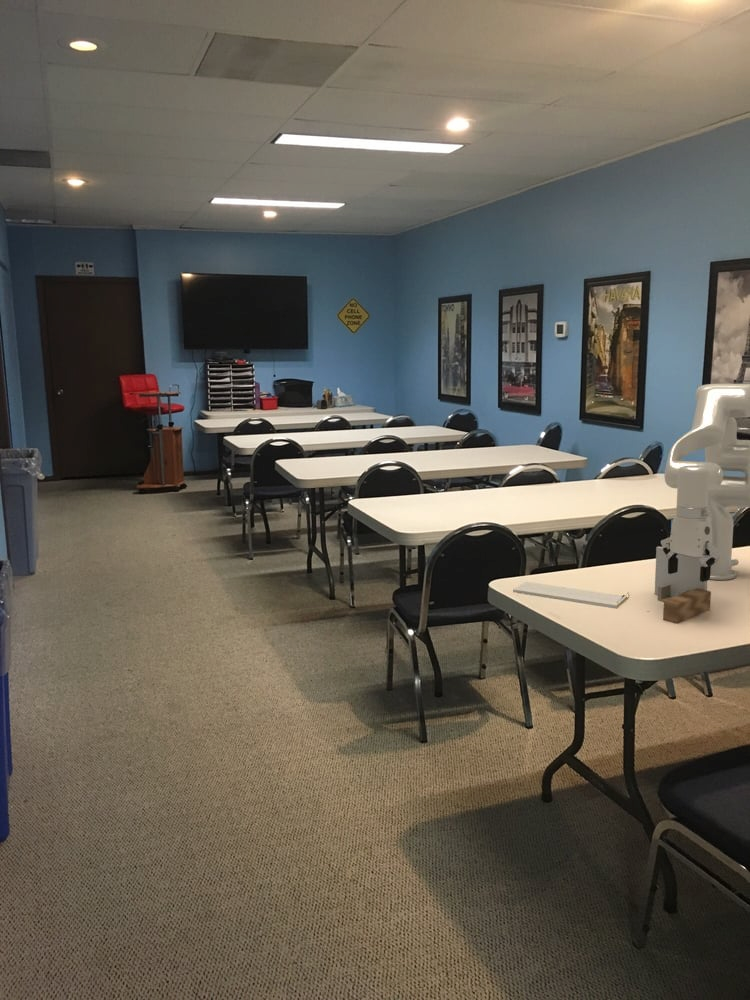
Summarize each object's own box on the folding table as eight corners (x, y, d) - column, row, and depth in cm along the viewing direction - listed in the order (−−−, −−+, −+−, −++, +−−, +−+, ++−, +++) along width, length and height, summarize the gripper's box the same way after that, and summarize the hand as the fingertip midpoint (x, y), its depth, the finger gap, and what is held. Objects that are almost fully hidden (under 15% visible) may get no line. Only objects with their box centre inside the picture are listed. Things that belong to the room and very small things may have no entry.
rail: (696, 607, 213) (697, 588, 212) (710, 611, 210) (711, 591, 209) (663, 620, 203) (663, 600, 202) (677, 624, 200) (677, 604, 199)
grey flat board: (529, 584, 241) (513, 594, 231) (529, 575, 240) (513, 584, 230) (629, 598, 223) (616, 610, 214) (630, 589, 223) (617, 600, 213)
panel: (657, 593, 226) (659, 546, 223) (706, 607, 212) (708, 557, 210) (645, 596, 223) (647, 549, 221) (694, 610, 210) (696, 560, 207)
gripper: (730, 516, 196) (726, 581, 199) (672, 507, 211) (669, 568, 213) (712, 519, 192) (708, 586, 195) (654, 509, 207) (651, 572, 210)
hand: (688, 576), depth 204 cm, fingers open, 9 cm apart
